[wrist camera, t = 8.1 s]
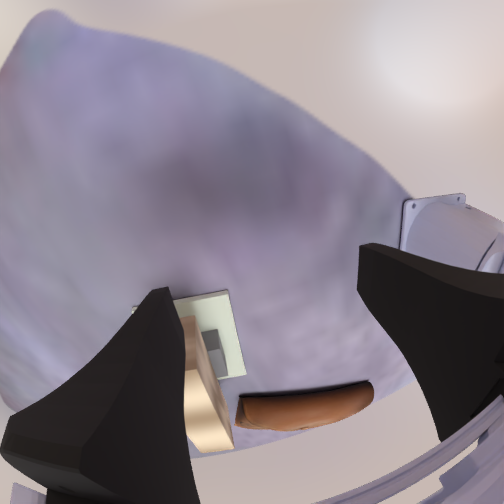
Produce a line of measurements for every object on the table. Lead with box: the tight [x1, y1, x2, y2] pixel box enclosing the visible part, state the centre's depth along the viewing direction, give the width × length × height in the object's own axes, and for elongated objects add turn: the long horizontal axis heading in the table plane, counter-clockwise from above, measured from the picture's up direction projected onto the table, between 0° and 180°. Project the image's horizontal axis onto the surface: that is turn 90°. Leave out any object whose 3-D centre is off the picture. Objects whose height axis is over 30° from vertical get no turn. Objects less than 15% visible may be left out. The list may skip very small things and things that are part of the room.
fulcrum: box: [131, 290, 246, 380], centre depth 22 cm, size 8×10×3 cm
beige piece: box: [180, 315, 235, 453], centre depth 19 cm, size 12×3×5 cm, turn 8°
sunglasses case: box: [234, 382, 374, 431], centre depth 30 cm, size 18×7×7 cm, turn 80°
